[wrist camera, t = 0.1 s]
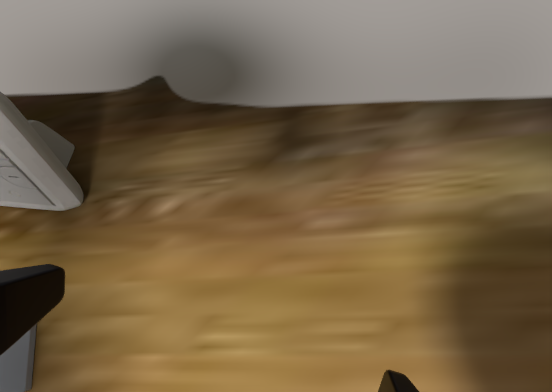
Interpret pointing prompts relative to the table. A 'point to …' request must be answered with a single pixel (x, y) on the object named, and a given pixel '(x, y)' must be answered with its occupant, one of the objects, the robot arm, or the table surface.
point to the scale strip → (18, 364)
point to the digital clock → (34, 164)
